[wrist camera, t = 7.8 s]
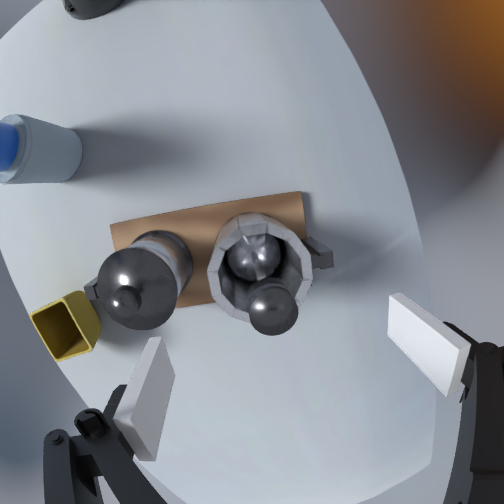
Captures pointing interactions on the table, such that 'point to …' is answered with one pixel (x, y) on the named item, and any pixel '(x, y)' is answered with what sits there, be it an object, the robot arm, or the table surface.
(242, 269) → the plunger
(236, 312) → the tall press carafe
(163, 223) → the serving board
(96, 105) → the table surface
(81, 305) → the flower pot
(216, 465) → the table surface
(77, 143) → the spray bottle
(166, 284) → the short press
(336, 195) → the table surface
